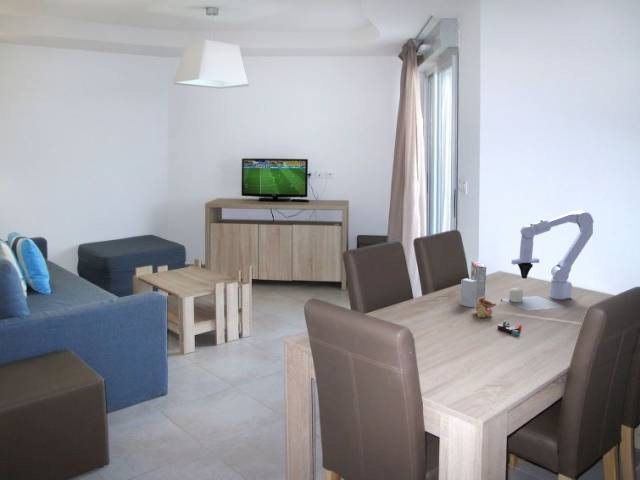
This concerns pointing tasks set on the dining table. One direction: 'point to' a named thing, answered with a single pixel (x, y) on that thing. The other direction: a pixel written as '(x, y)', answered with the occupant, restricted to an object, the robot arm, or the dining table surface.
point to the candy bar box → (479, 277)
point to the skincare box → (468, 292)
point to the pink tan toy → (483, 307)
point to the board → (534, 303)
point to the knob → (516, 294)
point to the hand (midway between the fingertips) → (524, 278)
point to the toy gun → (509, 328)
